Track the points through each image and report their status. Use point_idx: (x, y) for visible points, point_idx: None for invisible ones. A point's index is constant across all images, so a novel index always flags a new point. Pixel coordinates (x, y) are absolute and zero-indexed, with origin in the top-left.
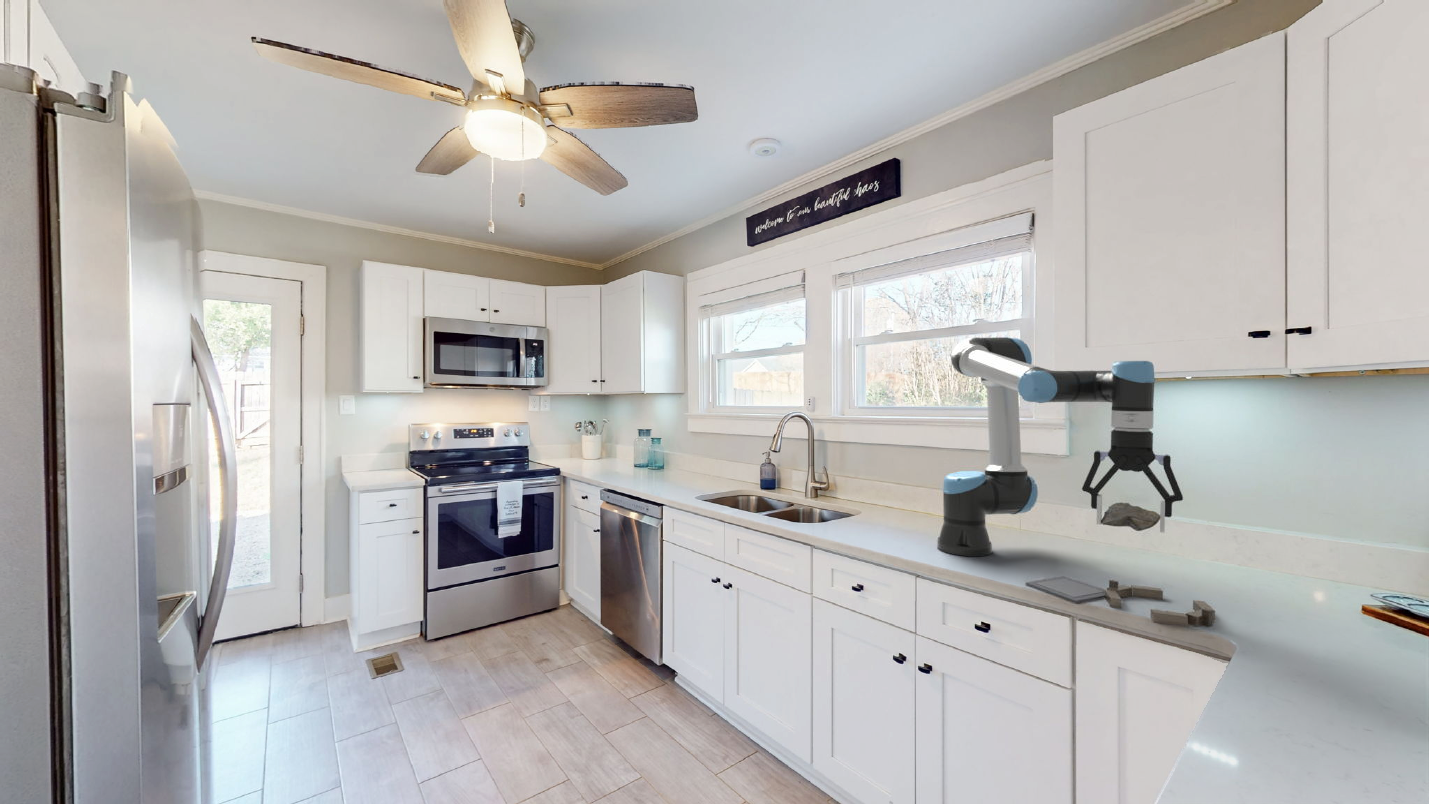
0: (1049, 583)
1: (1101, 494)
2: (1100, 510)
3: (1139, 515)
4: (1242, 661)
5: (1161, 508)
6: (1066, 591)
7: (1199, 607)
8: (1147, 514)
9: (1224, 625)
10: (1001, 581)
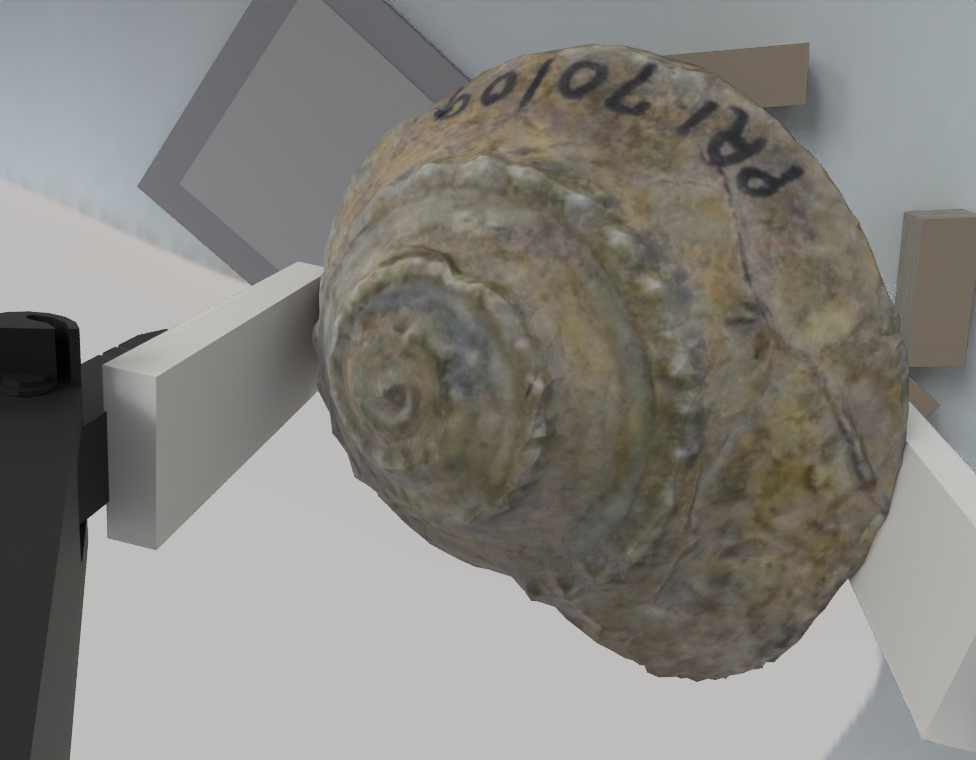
0: (240, 152)
1: (149, 378)
2: (254, 451)
3: (619, 633)
4: (837, 744)
5: (901, 676)
6: (321, 260)
7: (908, 321)
8: (715, 602)
9: (958, 403)
10: (41, 181)
